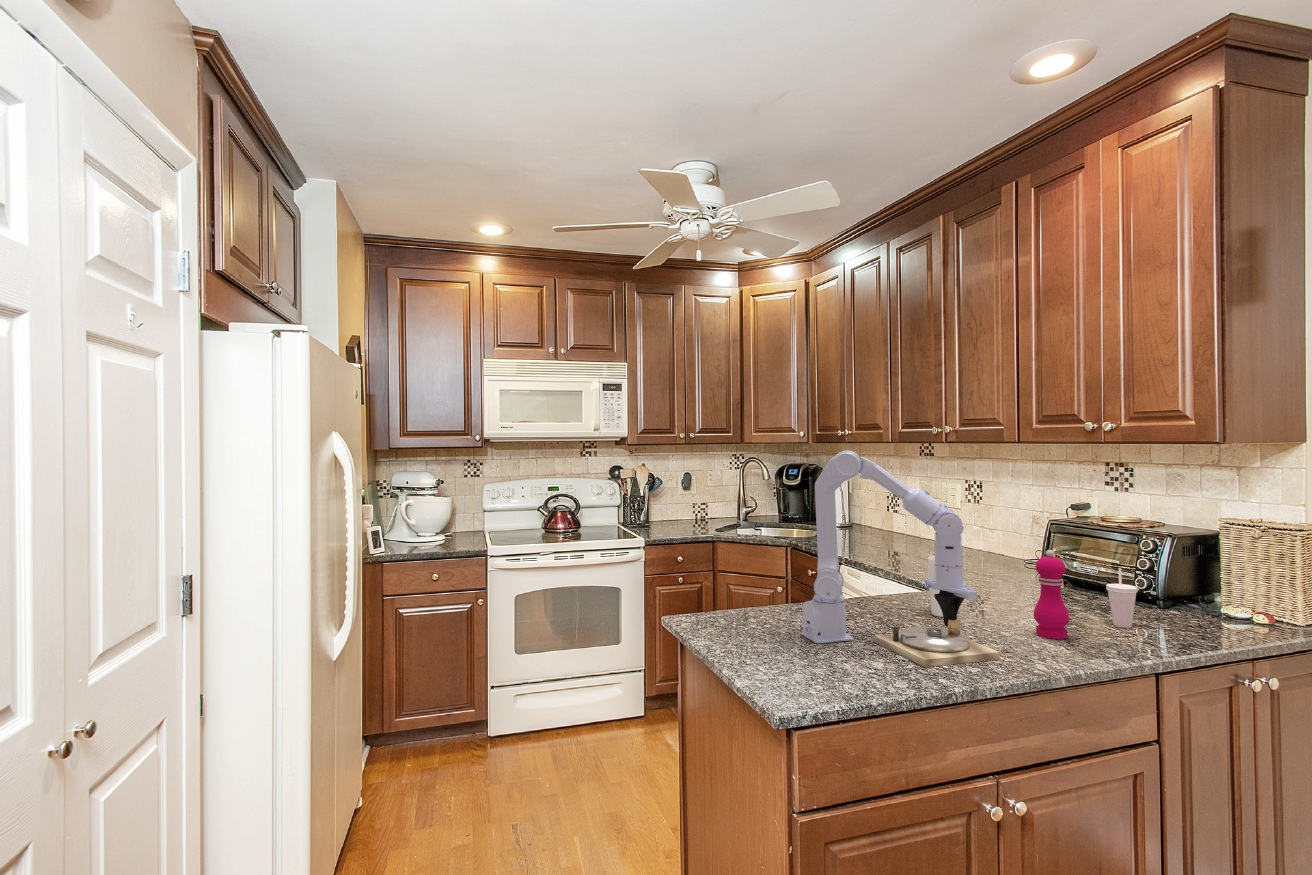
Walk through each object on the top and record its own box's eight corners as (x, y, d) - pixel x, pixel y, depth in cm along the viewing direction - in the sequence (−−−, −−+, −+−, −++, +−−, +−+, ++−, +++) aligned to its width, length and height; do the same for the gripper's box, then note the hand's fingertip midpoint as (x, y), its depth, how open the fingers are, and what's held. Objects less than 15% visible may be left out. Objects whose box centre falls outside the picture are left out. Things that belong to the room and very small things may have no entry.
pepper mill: (1075, 640, 150) (1073, 552, 151) (1040, 639, 152) (1038, 551, 152) (1062, 631, 157) (1060, 547, 158) (1029, 630, 159) (1027, 547, 159)
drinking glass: (952, 619, 169) (951, 561, 169) (925, 616, 173) (924, 558, 174) (959, 614, 175) (958, 557, 175) (932, 610, 179) (931, 555, 179)
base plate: (924, 667, 134) (924, 644, 134) (874, 641, 151) (874, 622, 151) (999, 659, 138) (999, 637, 138) (942, 635, 156) (942, 616, 156)
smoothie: (1128, 622, 165) (1127, 566, 165) (1144, 629, 159) (1143, 570, 159) (1101, 622, 166) (1100, 565, 166) (1116, 629, 159) (1115, 570, 159)
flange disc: (926, 654, 136) (925, 632, 136) (887, 635, 150) (887, 615, 150) (984, 648, 139) (984, 627, 140) (941, 630, 153) (941, 611, 153)
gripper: (987, 569, 142) (989, 632, 141) (942, 558, 156) (943, 615, 155) (959, 571, 140) (961, 636, 140) (916, 560, 154) (917, 618, 154)
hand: (950, 625), depth 147 cm, fingers closed, pressing on flange disc
